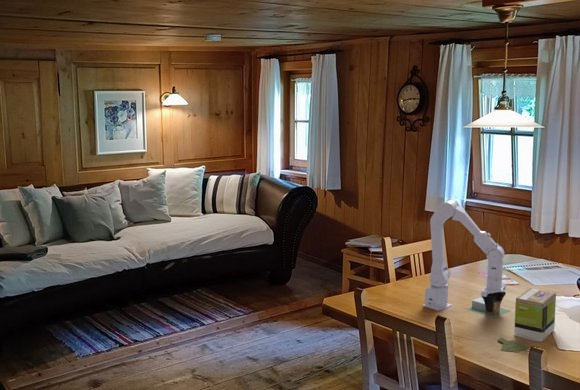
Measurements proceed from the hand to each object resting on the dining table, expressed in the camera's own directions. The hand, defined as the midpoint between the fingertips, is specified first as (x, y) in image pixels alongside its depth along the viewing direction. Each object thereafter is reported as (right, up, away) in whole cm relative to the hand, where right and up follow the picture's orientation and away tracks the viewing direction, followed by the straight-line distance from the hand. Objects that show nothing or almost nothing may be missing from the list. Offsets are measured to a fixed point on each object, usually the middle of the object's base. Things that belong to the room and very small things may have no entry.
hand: (492, 310), depth 252 cm
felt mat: (0, -1, +5) cm, 5 cm away
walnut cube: (0, -1, 0) cm, 1 cm away
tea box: (+9, -5, -19) cm, 22 cm away
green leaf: (-2, -8, -34) cm, 35 cm away
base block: (-2, 0, +7) cm, 7 cm away
